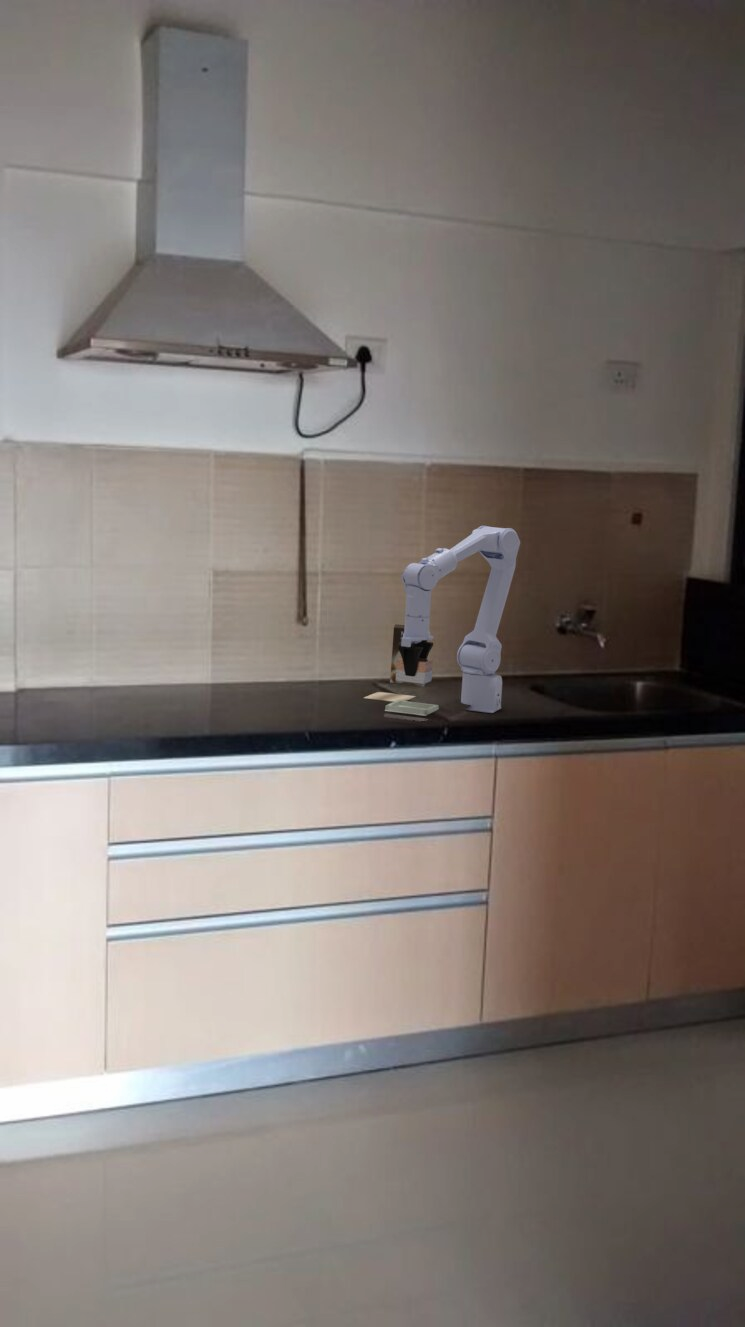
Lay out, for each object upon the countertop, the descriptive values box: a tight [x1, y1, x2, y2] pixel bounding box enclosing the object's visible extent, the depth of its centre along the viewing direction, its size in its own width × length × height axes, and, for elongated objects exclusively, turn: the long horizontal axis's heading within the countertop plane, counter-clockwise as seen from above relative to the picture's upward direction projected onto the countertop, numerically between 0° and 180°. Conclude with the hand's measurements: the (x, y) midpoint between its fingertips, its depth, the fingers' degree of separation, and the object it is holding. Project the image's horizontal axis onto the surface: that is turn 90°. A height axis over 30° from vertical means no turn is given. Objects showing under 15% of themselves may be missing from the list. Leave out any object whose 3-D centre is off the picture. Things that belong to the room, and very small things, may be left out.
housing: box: [396, 657, 434, 685], centre depth 306 cm, size 5×7×5 cm
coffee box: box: [389, 623, 429, 687], centre depth 344 cm, size 9×6×16 cm
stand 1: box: [363, 691, 417, 703], centre depth 322 cm, size 10×10×2 cm
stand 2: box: [383, 700, 440, 722], centre depth 307 cm, size 10×10×2 cm
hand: (414, 674), depth 306 cm, fingers closed on housing, 5 cm apart
